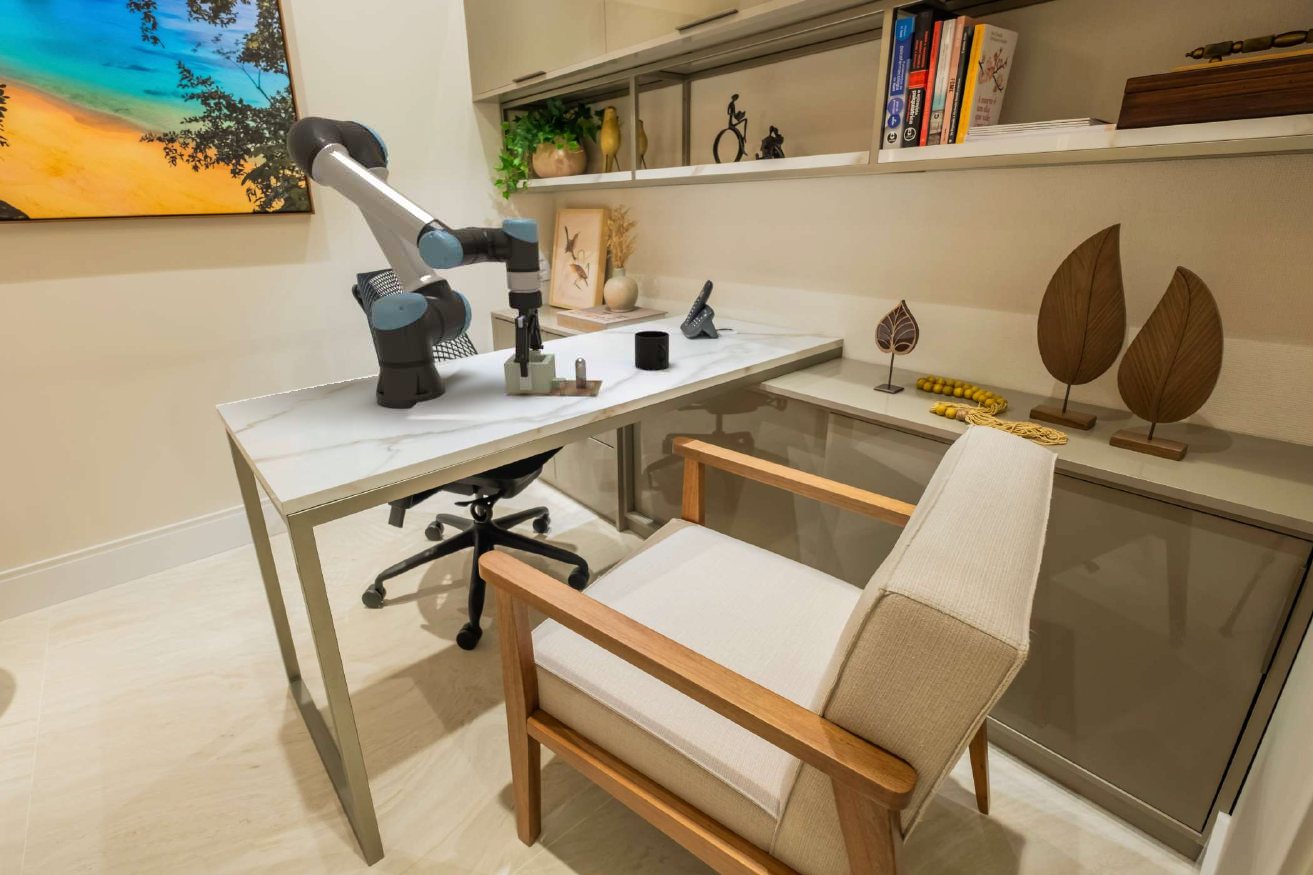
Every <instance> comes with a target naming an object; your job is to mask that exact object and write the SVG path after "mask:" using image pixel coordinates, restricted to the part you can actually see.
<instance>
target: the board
mask: <svg viewBox="0 0 1313 875" xmlns="http://www.w3.org/2000/svg"><path fill="white" fill-rule="evenodd" d="M565 382H566V386H565V383H564V382H560V383H559V385H560V389H551V391H550V392H549V393H506V395H505V396H507V397H570V398H572V397H576V398H578V397H579V398H581V397H582V398H583V397H584V398H585V397H587V398H588V397H589V398H590V397H591V398H595V397H596V398H597V397H598V394H599V392H600V388H601V386H602V383H603V379H602V380H600V379H599V380H597V379H596V380H594V379H590V380H588V379H586V383H587V388H585V389H578V388H576V379H565Z"/></svg>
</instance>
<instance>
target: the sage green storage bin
mask: <svg viewBox="0 0 1313 875" xmlns="http://www.w3.org/2000/svg"><path fill="white" fill-rule="evenodd" d="M521 357H524V356H521ZM514 360H515V353H513V354H512V355H510V357H509V358H508V359H506V361H504V363H503V368H504V369H503V371H504V383H505V392H506V394H508V393H549V392H550V391H551V389H560V385H559V383H560V382H564V383H565V386H566V382H565V380H566V377H557V376H556V375H557V374H556V373H557V372H556V355H555V353H541V354H530V355H529V362H531V374H532V388H533V389H532V390H520V380H519V367H518V363H514Z"/></svg>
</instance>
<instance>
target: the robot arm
mask: <svg viewBox="0 0 1313 875" xmlns="http://www.w3.org/2000/svg"><path fill="white" fill-rule="evenodd" d="M286 148H287V151H288V154H289V156H290V160H292V162H293V164H294V165H295V166H296V167H297V168H298V169H299V170H300V172H302V173H303V174H304V175H306V176H307V177H308V178H310V179H311V180H312V181H314V182H315V183H317V184H318V185H320V186H322V187H330V188H332V189H333V190H335V191H336V192H338V193H339V194H340V195H342V196H343V197H345V198H346V199H347V200H349V201H350V202H352V203H354V205H356V206H357V208H358V210H359V211H360V213H361V215H362V216H363V219H364V220H365V222H366V224H367V225H368V227H369V229H370V230H371V231H370V232H371V233H372V235H373V236H374V239H375V240H376V242H377V244H378V246H379V248H380V249H381V251H382V253H383V255H384V257H385V258H386V260H387V262H388V264H389V266H390V267H391V270H392V271H393V273H394V275H395V277H396V278H397V280H398V283H399V284H400V286H401V288H402V290H403V291H402V292H401V293H396V294H390V295H386V296H383V297H380V298H378V299H377V300H375V301H374V302H373V303H372V306H371V324H372V327H373V333H374V339H375V345H376V349H377V355H378V362H379V367H380V368H379V374H378V380H377V386H376V389H375V390H376V391H375V392H376V393H375V395H376V401H377V404H379V405H380V406H383V407H387V408H398V409H399V408H400V409H402V408H405V409H406V408H413V407H414V406H416V405H417V404H418V403H423V402H427V401H430V400H434V399H437V398H439V397H442V396H443V395H444V394H445V393H446V386H445V383H444V381H443V379H442V377H441V375H440V373H439V371H438V369H437V366H436V365H435V360H434V354H433V353H434V352H433V351H434V350H433V347H434V346H437V345H441V344H443V343H446V342H452V341H454V340H455V339H458V338H459V337H461V336H463V335H464V334H465V333H466V332H467V331H468V330H469V328H470V326H471V321H472V318H473V317H472V316H473V314H472V312H473V311H472V308H471V304H470V302H469V300H468V299H467V297H465V295H464V294H463V293H461V292H458V291H457V290H454V289H452V287H451V286H450V283H449V282H448V280H447V279H446V278H445V277H443V276H440V275H438V274H437V273H436V271H435V270H450V269H454V268H458V267H459V268H460V267H463V266H472V265H475V264H482V263H501V264H503V263H505V268H506V272H505V273H506V284H507V289H508V290H510V291H509V292H508V293H507V294H508V304H509V308H511V309H513V310H518V316H516V317H514V327H515V331H514V332H515V334H514V335H515V336H514V337H515V338H514V339H515V344H514V345H515V349H514V352H515V353H514V354H515V360H514V363H518V367H519V380H520V390H532V389H533V388H532V374H531V362H529V355H530V354H542V353H541V350H544V348H545V346H544V344H543V341H542V335H541V334H542V333H541V329H540V322H539V310H538V309H540V308H542V307H543V292H542V291H541V290H540V289H541V288H542V282H541V281H542V280H543V279H544V276H543V275H542V274H541V267H540V251H539V250H540V249H539V248H540V247H539V244H540V243H539V242H540V239H539V233H538V228H537V227H538V224H537V222H536V221H535V220H534V219H532V218H505V219H503V220H502V226H501V227H478V226H477V227H476V226H467V227H460V228H458V229H453V228H451V227H450V226H448V225H446V223H444V222H442V221H441V220H440V219H438V218H437V217H435V216H434V215H432V214H431V213H430V212H429V211H427V210H426V209H424V208H423V207H422V206H420V205H419V204H417V203H416V202H414V201H413V200H412V199H410V198H408V197H407V195H404V194H403V193H402V192H400V191H399V190H398V189H396V188H395V187H394V186H392V185H390V184H389V183H388V178H389V175H390V171H389V169H388V164H389V160H388V156H389V152H388V149H387V146H386V143H385V141H384V140H383V138H382V137H381V135H380V134H379V133H378V132H377V131H376V130H375V129H373V128H372V127H370V126H368V125H367V124H364V123H360V122H357V121H353V120H339V119H331V118H326V117H321V116H306V117H303V118H301V119H298V120H296V121H295V122H294V123H293V124H292V125H291V127H290V128H289V130H288V132H287V135H286ZM521 356H524V357H521Z"/></svg>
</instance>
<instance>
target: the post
mask: <svg viewBox="0 0 1313 875" xmlns="http://www.w3.org/2000/svg"><path fill="white" fill-rule="evenodd" d="M574 365H575V366H574V369H575V371H574V372H575V380H576V388H578V389H585V388H587V383H586V380H587V362H586V360H585V358H583V357H578V358H576V359H575V362H574Z"/></svg>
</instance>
